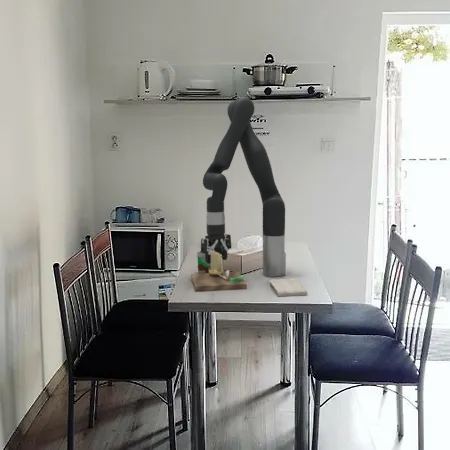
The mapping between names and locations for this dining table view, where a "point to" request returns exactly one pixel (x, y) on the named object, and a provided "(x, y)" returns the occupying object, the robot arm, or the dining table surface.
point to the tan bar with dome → (217, 266)
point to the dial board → (218, 282)
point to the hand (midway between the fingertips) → (216, 261)
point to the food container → (203, 263)
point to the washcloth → (287, 287)
